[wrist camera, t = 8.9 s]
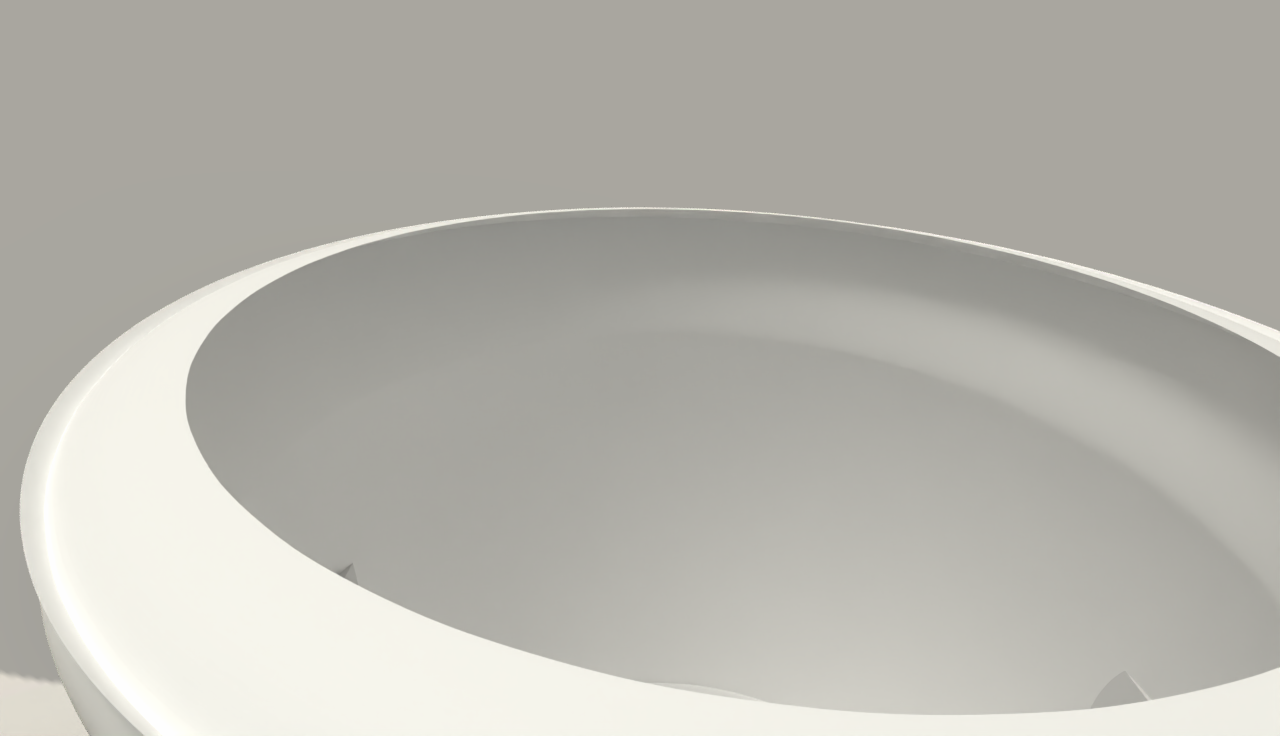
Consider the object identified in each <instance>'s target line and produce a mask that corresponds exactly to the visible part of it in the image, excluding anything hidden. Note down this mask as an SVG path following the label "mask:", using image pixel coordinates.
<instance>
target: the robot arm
mask: <svg viewBox="0 0 1280 736" xmlns="http://www.w3.org/2000/svg"><path fill="white" fill-rule="evenodd" d="M338 575H339V576H341V577H343V578H345V579H347V580H349V581H351V582H352V583H354V584H356V585H358V582H357V577H356V573H355V570H354V566H353V563H352V564H351V565H349V566H348V567H347V568H346V569H344V570H343V571H342V572H341V573H340V574H338ZM1149 700H1151V699H1150V698H1149V697H1148V696H1147V694H1146V693H1145V692H1144V691H1143V690H1142V689H1141V688H1140V686H1139V685H1138V684H1137V683H1136V682H1135V681H1134V680H1133V679H1132V678H1131V677H1130V675H1129V674H1128V673H1127V672H1126V671H1123V672H1121V673H1120V674H1118V675H1117V676H1115V677H1114V678H1113V679H1112V680H1111V681H1110V682H1109V683H1108V684H1107V685H1106V686H1105V687H1104V688H1103V689H1102V691H1101V692H1100V693H1099V695H1098V696H1097V698H1096V699H1095V701H1094V703H1093V704H1092V706H1091V708H1090V709H1094V708H1102V707H1111V706H1118V705H1125V704H1131V703H1137V702H1143V701H1149Z"/></svg>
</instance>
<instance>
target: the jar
mask: <svg viewBox="0 0 1280 736" xmlns="http://www.w3.org/2000/svg"><path fill="white" fill-rule="evenodd" d="M20 528H21V537H22V543H23V549H24V554H25V559H26V562H27V566H28V570H29V573H30V576H31V579H32V582H33V585H34V587H35V590H36V592H37V595H38V597H39V600H40V607H41V613H42V619H43V624H44V628H45V633H46V636H47V641H48V644H49V648H50V651H51V654H52V657H53V660H54V663H55V666H56V669H57V671H58V673H59V676H60V679H61V681H62V683H63V685H64V688H65V690H66V692H67V694H68V696H69V698H70V700H71V702H72V704H73V706H74V708H75V710H76V712H77V714H78V716H79V718H80V720H81V721H82V723H83V725H84V727H85V729H86V730H87V732H88V734H89V735H90V736H1280V331H1277V330H1275V329H1272V328H1270V327H1267V326H1265V325H1262V324H1260V323H1257V322H1255V321H1252V320H1249V319H1247V318H1244V317H1241V316H1239V315H1236V314H1233V313H1230V312H1228V311H1225V310H1222V309H1220V308H1217V307H1214V306H1211V305H1208V304H1205V303H1202V302H1200V301H1196V300H1194V299H1190V298H1188V297H1185V296H1182V295H1179V294H1175V293H1172V292H1169V291H1166V290H1163V289H1160V288H1157V287H1153V286H1150V285H1146V284H1144V283H1140V282H1137V281H1133V280H1130V279H1127V278H1123V277H1119V276H1116V275H1112V274H1109V273H1105V272H1102V271H1098V270H1095V269H1091V268H1087V267H1083V266H1079V265H1075V264H1072V263H1068V262H1064V261H1059V260H1056V259H1051V258H1047V257H1043V256H1039V255H1035V254H1030V253H1026V252H1021V251H1017V250H1012V249H1008V248H1003V247H998V246H993V245H989V244H984V243H978V242H974V241H968V240H963V239H958V238H952V237H947V236H941V235H936V234H929V233H923V232H918V231H912V230H906V229H899V228H892V227H886V226H879V225H871V224H863V223H856V222H849V221H842V220H833V219H824V218H815V217H806V216H797V215H786V214H776V213H764V212H750V211H734V210H717V209H691V208H588V209H567V210H550V211H535V212H523V213H511V214H500V215H490V216H480V217H472V218H463V219H457V220H456V219H455V220H448V221H441V222H435V223H428V224H421V225H415V226H409V227H404V228H398V229H393V230H387V231H382V232H377V233H372V234H367V235H363V236H358V237H354V238H350V239H345V240H341V241H337V242H333V243H329V244H325V245H322V246H318V247H314V248H310V249H307V250H303V251H300V252H296V253H293V254H290V255H287V256H283V257H281V258H277V259H274V260H271V261H268V262H265V263H263V264H260V265H257V266H254V267H252V268H249V269H246V270H243V271H241V272H238V273H236V274H233V275H231V276H228V277H226V278H223V279H221V280H219V281H216V282H214V283H212V284H210V285H207V286H205V287H203V288H201V289H199V290H197V291H194V292H192V293H190V294H188V295H186V296H184V297H182V298H181V299H179V300H177V301H175V302H173V303H171V304H169V305H168V306H166V307H164V308H162V309H161V310H159V311H157V312H156V313H154V314H152V315H151V316H149V317H147V318H146V319H144V320H143V321H141V322H140V323H138V324H137V325H135V326H134V327H132V328H131V329H130V330H128V331H126V332H125V333H124V334H123V335H121V336H120V337H119V338H117V339H116V340H114V341H113V342H112V343H111V344H109V345H108V346H107V347H106V348H105V349H103V350H102V351H101V352H100V353H99V354H98V355H97V356H95V357H94V358H93V359H92V360H91V361H90V362H89V363H88V364H87V365H86V366H85V367H84V368H83V369H82V370H81V371H80V372H79V373H78V374H77V375H76V377H75V378H74V379H73V380H72V381H71V382H70V383H69V384H68V386H67V387H66V388H65V389H64V391H63V392H62V393H61V395H60V396H59V397H58V399H57V400H56V402H55V403H54V404H53V406H52V407H51V409H50V411H49V412H48V414H47V416H46V417H45V419H44V421H43V423H42V425H41V427H40V429H39V431H38V433H37V435H36V437H35V440H34V442H33V444H32V447H31V450H30V453H29V456H28V459H27V462H26V466H25V470H24V475H23V480H22V487H21V496H20ZM352 563H353V566H354V570H355V573H356V577H357V582H358V585H356V584H354V583H352V582H351V581H349V580H347V579H345V578H343V577H341V576H339V575H338V574H340V573H341V572H342V571H343V570H344V569H346V568H347V567H348V566H349V565H351V564H352ZM1123 671H1126V672H1127V673H1128V674H1129V675H1130V677H1131V678H1132V679H1133V680H1134V681H1135V682H1136V683H1137V684H1138V685H1139V686H1140V688H1141V689H1142V690H1143V691H1144V692H1145V693H1146V694H1147V696H1148V697H1149V698H1150V699H1151V700H1149V701H1143V702H1137V703H1131V704H1125V705H1118V706H1111V707H1102V708H1094V709H1090V708H1091V706H1092V704H1093V703H1094V701H1095V699H1096V698H1097V696H1098V695H1099V693H1100V692H1101V691H1102V689H1103V688H1104V687H1105V686H1106V685H1107V684H1108V683H1109V682H1110V681H1111V680H1112V679H1113V678H1114V677H1115V676H1117V675H1118V674H1120V673H1121V672H1123Z"/></svg>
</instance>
